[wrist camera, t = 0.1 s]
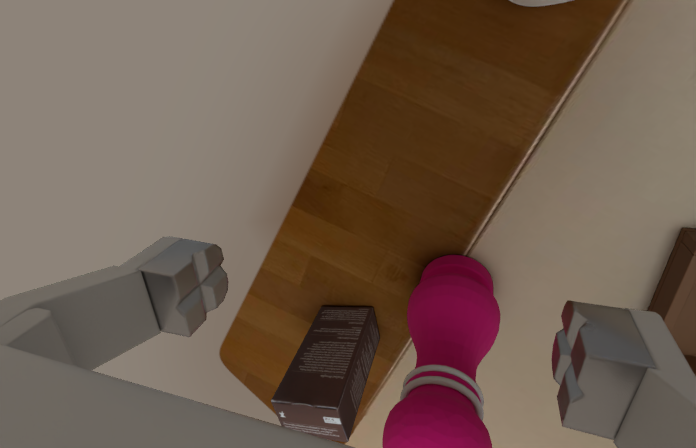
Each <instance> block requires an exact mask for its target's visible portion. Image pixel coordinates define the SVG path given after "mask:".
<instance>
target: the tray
mask: <svg viewBox="0 0 696 448" xmlns="http://www.w3.org/2000/svg"><path fill="white" fill-rule="evenodd" d="M648 311H650V312H656V313H657V314H659V315H660V316H661V317H662V319H663V321H664V323H665V324H666V326H667V328H668V329H669V331H670V333H671V335H672V336H673V338H674V340H675V342H676V343H677V345H678V347H679V348H680V350H681V352H682V354H683V355H684V357H685V359H686V360H687V362H688V364H689V366H690V367H691V369H692V371H693V373H694V374H695V376H696V229H691V228H682V230H681V232H680V235H679V237H678V240H677V242H676V244H675V247H674V249H673V252H672V254H671V256H670V259H669V261H668V264H667V266H666V268H665V271H664V273H663V275H662V278H661V280H660V283H659V285H658V287H657V290H656V292H655V295H654V297H653V299H652V302H651V304H650V306H649V309H648Z"/></svg>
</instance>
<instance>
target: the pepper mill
mask: <svg viewBox="0 0 696 448" xmlns="http://www.w3.org/2000/svg"><path fill="white" fill-rule="evenodd" d="M407 320H408V327H409V331H410V335H411V337H412V340H413V343H414V346H415V349H416V352H417V363H416V367H415V369H414V370H413V371H411V372H410V373H409V374H408V375H407V376H406V378H405V380H404V383H403V390H402V392H401V397H400V402H399V403H397V404H396V405H395V406H394V408H393V409H392V410H391V411H390V413H389V416H388V418H387V420H386V423H385V427H384V432H383V448H492V443H491V440H490V436H489V433H488V430H487V428H486V427H485V425H484V423H483V422H482V420H483V415H484V412H483V405H484V398H483V394H482V391H481V389H480V388H479V386H478V385H477V384H476V380H475V378H476V369H477V367H478V365H479V363H480V362H481V360H482V359H483V358H484V356H485V355H486V354H487V353H488V351H489V350H490V349H491V347H492V345H493V344H494V341H495V339H496V336H497V334H498V331H499V324H500V311H499V306H498V303H497V301H496V299H495V297H494V296H493V282H492V278H491V276H490V274H489V272H488V271H487V269H486V268H485V267H484V266H483V265H481V264H480V263H479V262H477V261H476V260H474V259H472V258H469V257H465V256H462V255H446V256H442V257H439V258H437V259H435V260H433V261H432V262H431V263H429V264H428V265H427V266H426V268H425V269H424V271H423V273H422V277H421V280H420V284H418V286H417V287H416V288H415V289H414V291H413V292H412V294H411V296H410V299H409V303H408V310H407Z"/></svg>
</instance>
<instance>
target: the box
mask: <svg viewBox="0 0 696 448" xmlns="http://www.w3.org/2000/svg"><path fill="white" fill-rule="evenodd" d="M379 339H380V336H379V332H378V327H377V322H376V318H375V314H374V310H373V308H372V307H323V306H322V307H321V308H320V310H319V312H318V314H317V316H316V318H315V320H314V321H313V323H312V325H311V327H310V329H309V331H308V333H307V335H306V336H305V338H304V340H303V342H302V344H301V346H300V348H299V349H298V351H297V353H296V355H295V357H294V359H293V361H292V363H291V365H290V366H289V368H288V370H287V372H286V374H285V376H284V378H283V380H282V381H281V383H280V385H279V387H278V389H277V391H276V392H275V394H274V396H273V398H272V400H271V402H272V405H273V407H274V409H275V411H276V414H277V416H278V418H279V421H280V423H281V425H282V426H283V427H286V428H289V429H293V430H296V431H300V432H303V433H306V434H310V435H313V436H317V437H320V438H324V439H329V440H336V441H342V442H348V441H349V437H350V434H351V431H352V427H353V424H354V421H355V417H356V414H357V411H358V408H359V405H360V401H361V398H362V394H363V391H364V388H365V385H366V381H367V378H368V375H369V371H370V368H371V365H372V362H373V358H374V355H375V352H376V349H377V346H378V342H379Z"/></svg>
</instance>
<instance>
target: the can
mask: <svg viewBox="0 0 696 448" xmlns="http://www.w3.org/2000/svg"><path fill="white" fill-rule="evenodd" d="M509 1H511V2H513V3H515V4H518V5H522V6H528V7H538V6H547V5H553V4H559V3H564V2H569V1H573V0H509Z"/></svg>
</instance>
